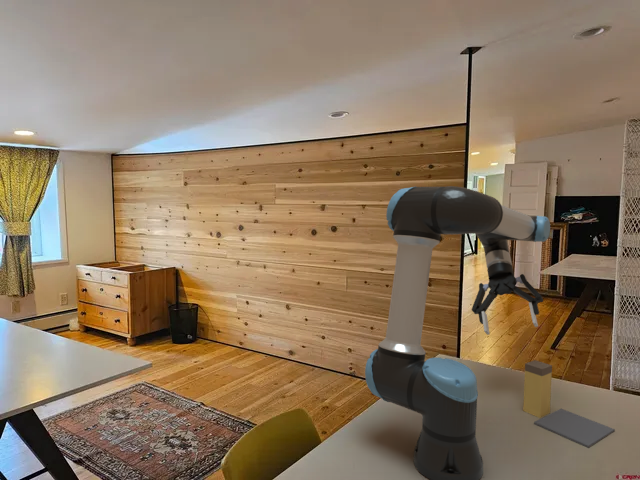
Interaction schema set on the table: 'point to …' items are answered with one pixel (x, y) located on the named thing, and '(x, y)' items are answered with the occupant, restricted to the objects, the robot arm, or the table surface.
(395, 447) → the table surface
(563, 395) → the table surface
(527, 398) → the ochre post
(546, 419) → the charcoal mat
